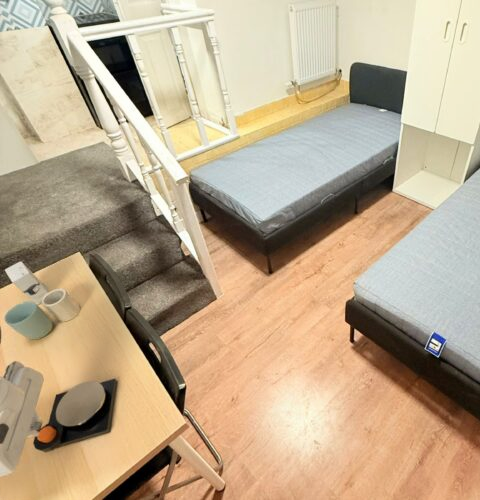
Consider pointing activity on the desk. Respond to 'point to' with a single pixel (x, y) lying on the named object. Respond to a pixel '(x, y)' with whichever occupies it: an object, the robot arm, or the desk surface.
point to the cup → (29, 320)
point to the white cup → (60, 305)
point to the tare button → (47, 434)
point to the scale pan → (80, 404)
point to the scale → (85, 431)
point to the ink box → (27, 282)
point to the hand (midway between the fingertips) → (37, 429)
